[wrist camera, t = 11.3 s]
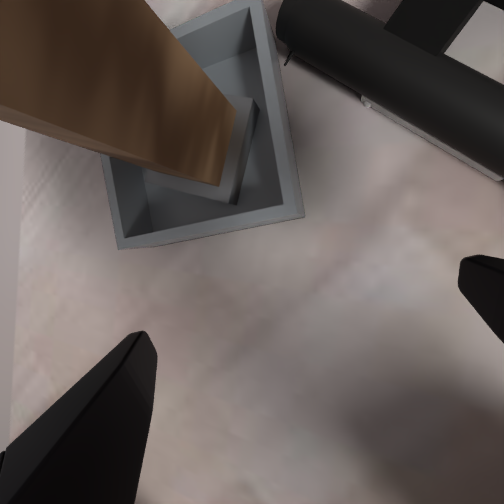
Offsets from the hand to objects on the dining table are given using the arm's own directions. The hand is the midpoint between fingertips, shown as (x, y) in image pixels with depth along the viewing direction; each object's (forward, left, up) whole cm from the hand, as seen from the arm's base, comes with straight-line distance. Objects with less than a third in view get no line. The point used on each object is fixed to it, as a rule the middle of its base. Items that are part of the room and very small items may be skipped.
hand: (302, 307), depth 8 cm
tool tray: (+9, +6, -10) cm, 15 cm away
